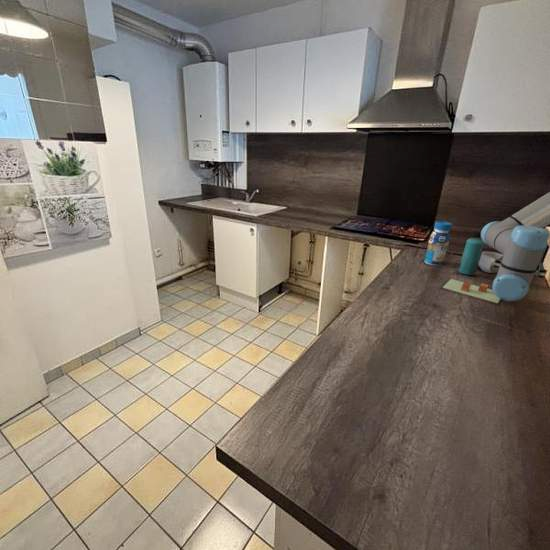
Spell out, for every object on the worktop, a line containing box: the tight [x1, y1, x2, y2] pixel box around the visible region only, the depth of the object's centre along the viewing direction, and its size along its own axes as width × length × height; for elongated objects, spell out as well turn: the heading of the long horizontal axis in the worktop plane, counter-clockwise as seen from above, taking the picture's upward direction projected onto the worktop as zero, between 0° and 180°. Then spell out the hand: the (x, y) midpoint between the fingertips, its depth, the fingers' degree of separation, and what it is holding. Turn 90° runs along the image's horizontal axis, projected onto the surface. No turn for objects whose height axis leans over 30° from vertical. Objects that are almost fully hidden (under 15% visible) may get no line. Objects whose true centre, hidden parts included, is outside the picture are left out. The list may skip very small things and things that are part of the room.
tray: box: [442, 278, 501, 304], centre depth 112 cm, size 18×12×1 cm, turn 47°
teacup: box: [478, 251, 503, 275], centre depth 131 cm, size 14×11×8 cm
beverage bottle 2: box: [458, 230, 485, 276], centre depth 124 cm, size 6×7×20 cm
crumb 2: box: [478, 282, 490, 293], centre depth 111 cm, size 2×2×2 cm
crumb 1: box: [461, 281, 472, 292], centre depth 111 cm, size 2×2×2 cm
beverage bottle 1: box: [423, 221, 452, 267], centre depth 138 cm, size 8×8×20 cm
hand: (523, 257), depth 103 cm, fingers closed on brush, 3 cm apart
